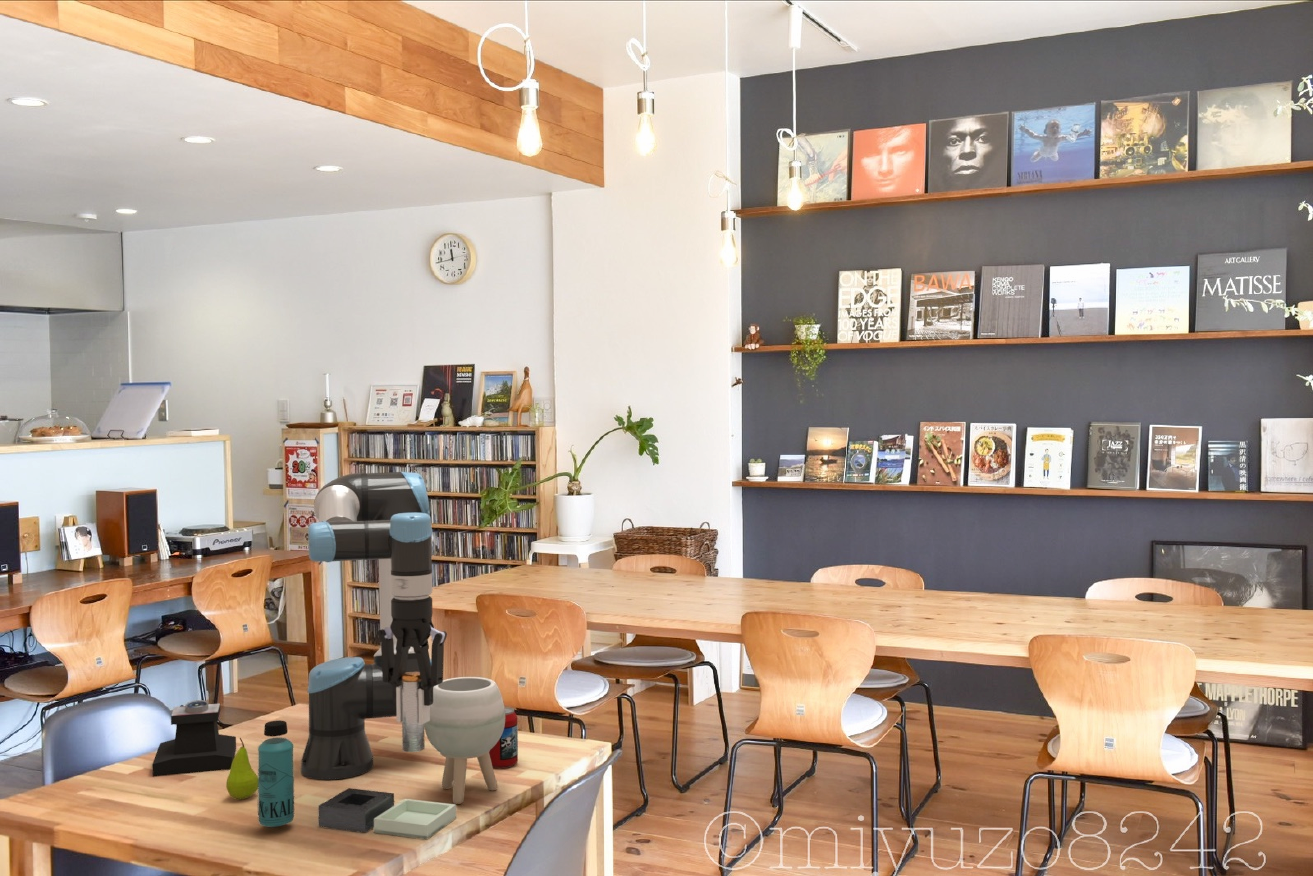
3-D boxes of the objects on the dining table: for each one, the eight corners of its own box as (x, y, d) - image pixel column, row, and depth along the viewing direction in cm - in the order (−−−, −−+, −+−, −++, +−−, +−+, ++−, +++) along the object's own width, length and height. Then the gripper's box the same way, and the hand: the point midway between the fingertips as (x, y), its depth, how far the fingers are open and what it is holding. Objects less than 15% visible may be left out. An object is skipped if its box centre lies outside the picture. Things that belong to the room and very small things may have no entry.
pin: (409, 744, 211) (408, 671, 210) (428, 746, 209) (427, 672, 209) (398, 751, 207) (397, 676, 206) (417, 753, 206) (416, 677, 205)
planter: (519, 785, 230) (518, 677, 230) (482, 812, 215) (481, 697, 215) (450, 777, 236) (449, 672, 235) (409, 803, 220) (408, 690, 220)
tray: (374, 832, 205) (373, 818, 205) (405, 812, 216) (404, 798, 215) (427, 839, 202) (426, 825, 202) (456, 818, 212) (456, 804, 212)
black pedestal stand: (150, 716, 236) (160, 692, 250) (153, 781, 237) (162, 754, 252) (230, 710, 240) (235, 687, 254) (232, 774, 242) (237, 747, 256)
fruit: (245, 804, 220) (244, 744, 220) (219, 801, 222) (218, 742, 222) (265, 794, 226) (264, 735, 226) (239, 791, 228) (238, 733, 228)
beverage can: (512, 770, 240) (511, 715, 239) (482, 768, 241) (481, 713, 241) (522, 760, 246) (521, 706, 246) (493, 759, 248) (492, 705, 247)
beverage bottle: (263, 822, 210) (261, 717, 210) (299, 821, 211) (297, 716, 210) (253, 836, 204) (251, 727, 203) (290, 834, 204) (289, 726, 204)
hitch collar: (318, 827, 208) (318, 805, 208) (349, 808, 218) (348, 788, 217) (365, 833, 205) (365, 811, 205) (394, 814, 215) (393, 793, 214)
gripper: (360, 597, 206) (362, 723, 207) (442, 602, 201) (444, 730, 202) (382, 591, 214) (384, 712, 214) (462, 595, 208) (463, 719, 209)
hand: (413, 721), depth 208 cm, fingers closed on pin, 4 cm apart
